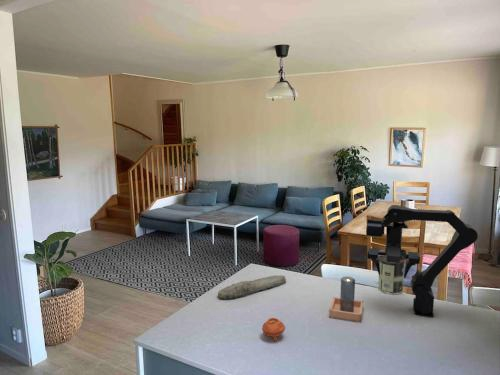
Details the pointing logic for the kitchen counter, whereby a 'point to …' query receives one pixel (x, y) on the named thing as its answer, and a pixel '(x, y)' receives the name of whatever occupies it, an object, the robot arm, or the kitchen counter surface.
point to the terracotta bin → (343, 315)
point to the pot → (273, 328)
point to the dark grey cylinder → (347, 294)
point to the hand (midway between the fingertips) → (391, 276)
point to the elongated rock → (250, 287)
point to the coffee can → (391, 276)
